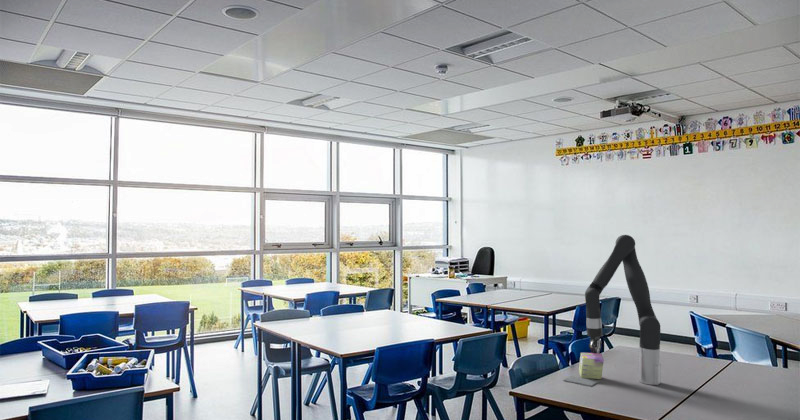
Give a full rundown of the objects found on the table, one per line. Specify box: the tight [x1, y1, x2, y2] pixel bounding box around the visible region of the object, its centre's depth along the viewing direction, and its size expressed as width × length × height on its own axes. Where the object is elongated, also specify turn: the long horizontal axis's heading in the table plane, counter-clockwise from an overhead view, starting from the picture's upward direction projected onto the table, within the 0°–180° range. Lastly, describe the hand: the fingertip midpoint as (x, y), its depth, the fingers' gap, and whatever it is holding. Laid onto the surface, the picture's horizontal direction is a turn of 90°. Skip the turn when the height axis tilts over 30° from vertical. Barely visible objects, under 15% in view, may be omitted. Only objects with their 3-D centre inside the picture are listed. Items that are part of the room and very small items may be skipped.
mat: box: [563, 375, 600, 388], centre depth 267 cm, size 14×10×1 cm
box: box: [578, 352, 605, 380], centre depth 274 cm, size 10×6×12 cm, turn 84°
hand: (596, 360), depth 277 cm, fingers closed
